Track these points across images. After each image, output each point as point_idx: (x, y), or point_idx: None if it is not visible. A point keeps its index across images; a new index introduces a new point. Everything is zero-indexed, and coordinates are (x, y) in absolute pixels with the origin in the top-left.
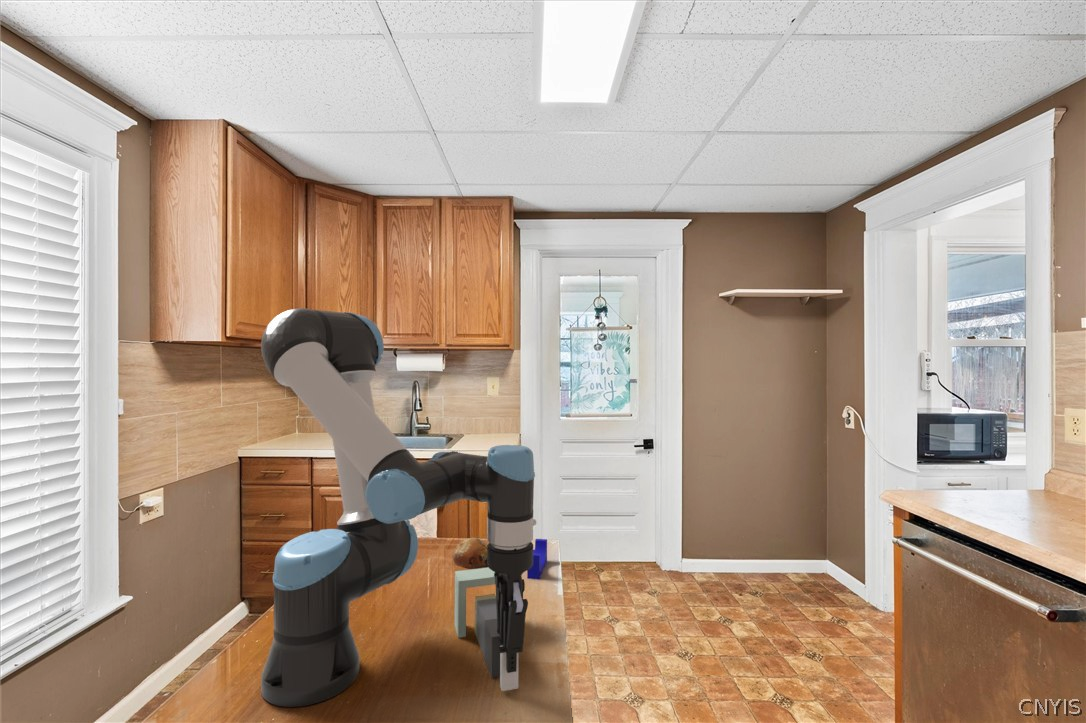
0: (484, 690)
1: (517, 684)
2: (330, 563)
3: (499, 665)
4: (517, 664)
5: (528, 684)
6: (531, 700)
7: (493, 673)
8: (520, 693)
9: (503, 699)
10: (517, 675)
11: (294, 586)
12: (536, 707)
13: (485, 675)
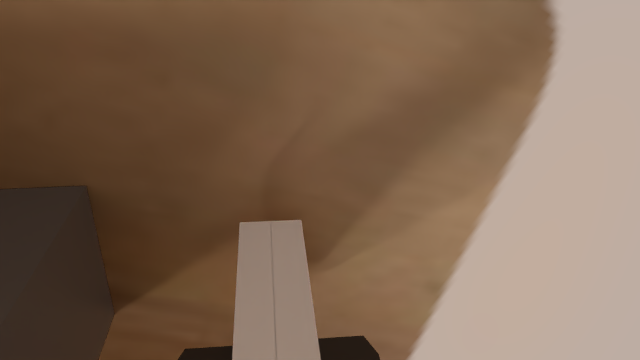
0: None
1: (302, 238)
2: None
3: (85, 327)
4: (315, 338)
5: (222, 122)
6: (390, 143)
7: (105, 325)
8: (302, 189)
9: (326, 282)
10: (307, 277)
11: None
12: (463, 130)
13: None
